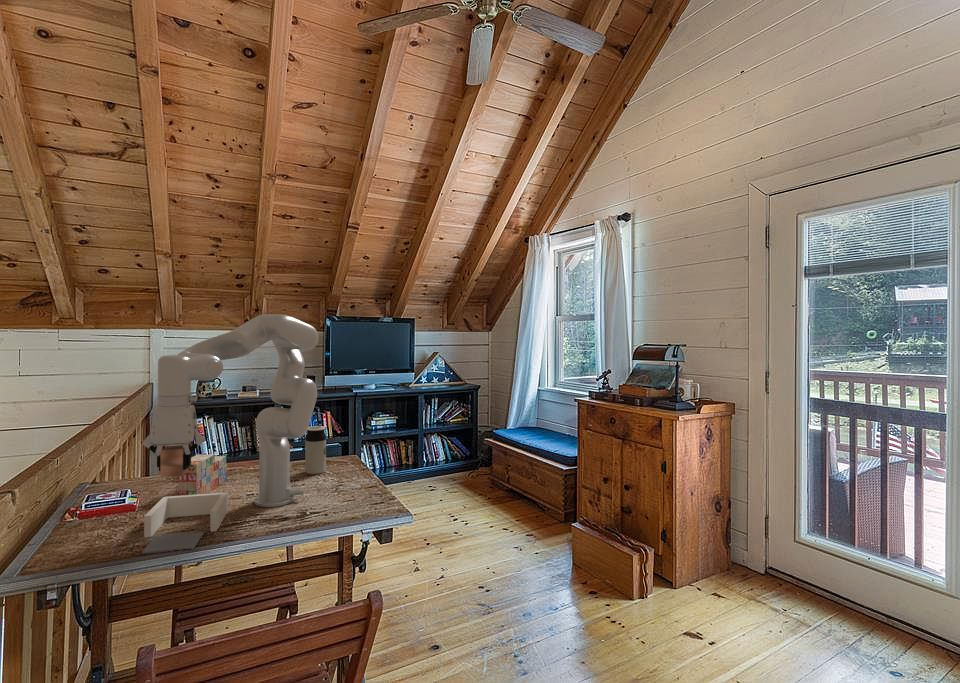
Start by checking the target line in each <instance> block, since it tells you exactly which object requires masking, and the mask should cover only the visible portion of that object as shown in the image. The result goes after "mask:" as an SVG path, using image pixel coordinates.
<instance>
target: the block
mask: <svg viewBox="0 0 960 683" xmlns="http://www.w3.org/2000/svg"><path fill="white" fill-rule="evenodd" d="M184 452H185V451H184V448H183V445H182V444H181V445H166V446H165V448H163V449H162V450H161V451H160V471H159V472H160V473H159V474H160V478H166V477H167V478H168V477H178V476H182V475H183V474H184V473H185V472H186V471H187V469H186V470H184V469H183V455H184Z"/></svg>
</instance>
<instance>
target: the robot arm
mask: <svg viewBox="0 0 960 683" xmlns="http://www.w3.org/2000/svg"><path fill="white" fill-rule="evenodd" d="M319 339H320V337H319V333H318V331H317V328H315V327H314V326H312V325H310V324H308V323H306V322H304V321H302V320H299V319H298V318H295V317H293V316H289V315H287V314H281V313H278V314H273V313H270V314H269V313H268V314H267V313H265V314H263V313H262V314H259V315H257V316H255V317H253V318H252V319H250V320H248V321H246V322H244V323H242V324H241V325H239V326H238V327H236V328H234V329H233V330H231V331H228V332H226V333H222V334H219V335H217V336H214V337H211V338H208V339H205V340H202V341H200V342H196V343H195V344H193V345H191V346H189V347H187V348H186V349H184V350H182V351H181V352H179V353H178V354H175V355H174V354H169V355H168V354H167V355H163V356H160V357H159V358H158V360H157V406H155V408H154V410H153V414H152V420H151V430H150V433H149V434H148V435H147V436H146V438H145V439H144V440H143V441H142V443H141V444H142V445H143V446H144V447H145V448H147V449H149V451H151V452H152V453H153V454H154V456H156V467H157V468H158V471H159V472H160V451H161V450H162V449H163V448H165V447H166V446H173V445H181V446H182V445H183V448H184V451H185V452H184V455H183V469H184V470H186V469H187V468H188V467H189V466H190V465H191V457H192V453H193V452H194V450H196V449H197V448H198V447H199V446H201V445H202V444H203V443H205V442H206V438H205V437H204V436H203V435H202V434H201V433H200V432H199V431H198V421H197V412H196V411H197V410H196V408H195V405H194V404H192V403H195V402H197V400H198V398H197V396H193V395H192V393H191V392H192V390H191V389H192V381H205V382H207V381H213V380H215V379H217V378H219V377H220V375H221V374H222V372H223V370H224V364H223V362H222V361H225V360H232V359H238V358H242V357H245V356H247V355H249V354H250V353H252V352H253V351H255V350H256V349H259V347H261V346H263V345H264V344H266V343H268V342H270V341H272V343H273V346H274V347H275V350H276V352H277V354H278V357H279V358H278V360H279V362H278V365H277V366H278V367H277V371H276V373H275V376H274V379H273V382H272V385H271V390H270V394H269V395H270V399H271V400H272V402H274V403H276V404H280V405H287V406H290V408H285V407H279V406H278V407H276V406H274V407H272V406H270V407H266V408H264V409H262V410H261V411H260V412H259V413H258V415H257V416H256V421H255V424H256V425H255V426H256V432H257V436H258V443H259V444H258V446H259V452H258V454H259V455H258V456H259V457H258V458H259V460H258V461H259V463H258V464H259V468H258V472H259V473H258V475H259V479H258V495H257V496H255V498H254V499H253V504H254V505H255V506H257V507H260V508H276V507H282V506H286V505H287V504H288V505H289V504H290V503H292V502H293V501H295V496H302V495H304V488H301V487H292V484H291V479H290V478H291V475H290V474H291V469H290V463H291V447H290V445H291V444H290V442H289V440H288V439H293V440H294V439H300V438H301V437H303V436H305V435H306V434H307V429H308V427H310V423H311V420H312V418H313V413H314V410H315V409H314V408H315V405H316V404H317V398H318V387H317V384H316V383H315V381H313V380H312V379H310V378H308V377H306V378H305V377H303V376H304V372H305V364H306V363H305V358H304V356H303V355H302V352H301V351H310V350H313V349H315V347H316V346H317V345H318V343H319ZM194 440H196V442H194ZM193 442H194V443H193ZM192 443H193V444H192Z"/></svg>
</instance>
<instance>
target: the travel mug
mask: <svg viewBox="0 0 960 683" xmlns="http://www.w3.org/2000/svg"><path fill="white" fill-rule="evenodd" d="M326 429H327V428H326V426H322V425H313V426H309V427H308V429H307V431H306V433H305V435H304V437H305V440H304V442H305V447H304V448H305V451H304V452H305V455H304V456H305V459H304V461H305V462H304V465H305V466H304V468H305V469H304V472H305V473H306V474H308V475H320V474H322V473H325V472H326V470H327V433H326V432H325V430H326ZM319 473H320V474H319Z"/></svg>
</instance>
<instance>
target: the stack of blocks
mask: <svg viewBox="0 0 960 683" xmlns="http://www.w3.org/2000/svg"><path fill="white" fill-rule="evenodd" d="M227 473H228V464H227V456H226V455H215V453H214V454H195V455H194V456H191V465H190V466H189V467H188V468H187V471H186V472H185V473H184V474H183V475H182V476H177V484H178V485H177V488H178V489H177V490H178V491H177V496H182V495H197V494H205V493H206V494H208V492H210V491H211V490H213V489H214V488H216V487H217V485H218V486H219V485H220V484H222V483H224V482H225V481H227V480H228V479H227V478H228V476H227V475H228V474H227Z"/></svg>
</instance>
